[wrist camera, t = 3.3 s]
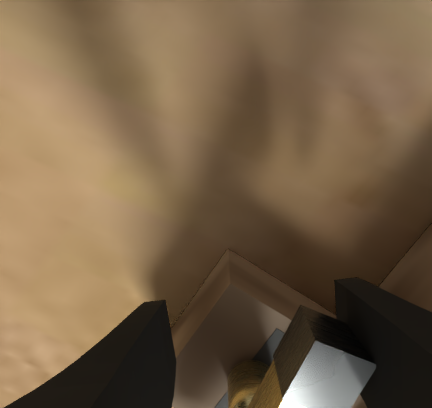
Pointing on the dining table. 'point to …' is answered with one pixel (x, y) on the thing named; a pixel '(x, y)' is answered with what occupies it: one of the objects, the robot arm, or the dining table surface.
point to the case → (260, 320)
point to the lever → (305, 368)
